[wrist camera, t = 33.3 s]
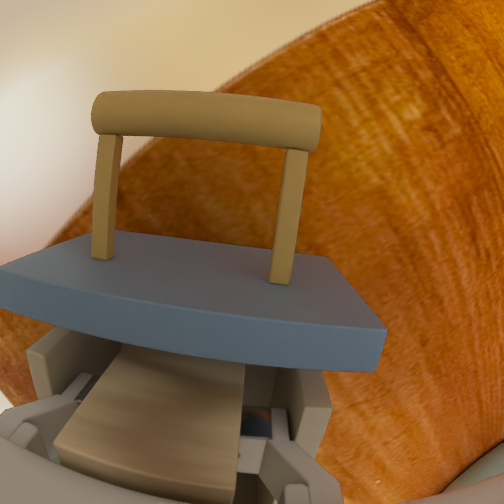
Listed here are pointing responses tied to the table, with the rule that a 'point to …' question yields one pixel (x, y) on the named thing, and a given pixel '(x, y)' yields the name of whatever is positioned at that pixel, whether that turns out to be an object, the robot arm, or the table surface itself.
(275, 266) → the drawer
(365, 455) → the table surface
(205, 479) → the block
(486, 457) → the planter
